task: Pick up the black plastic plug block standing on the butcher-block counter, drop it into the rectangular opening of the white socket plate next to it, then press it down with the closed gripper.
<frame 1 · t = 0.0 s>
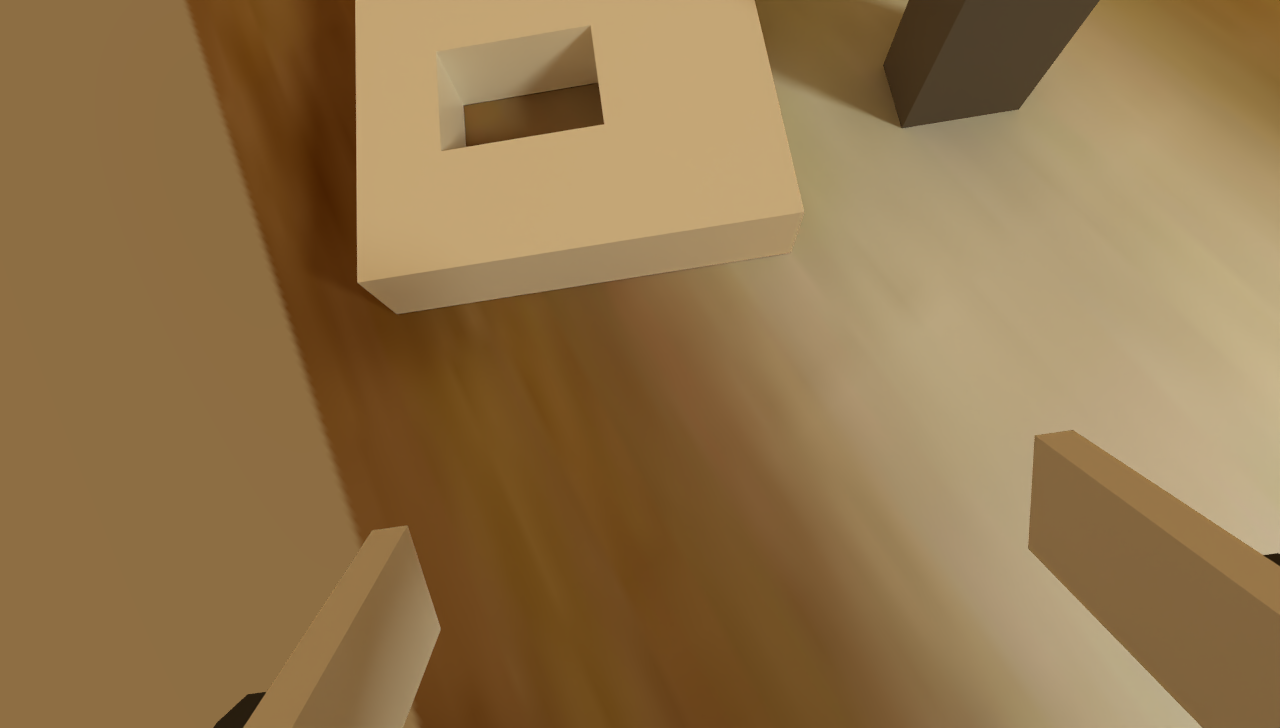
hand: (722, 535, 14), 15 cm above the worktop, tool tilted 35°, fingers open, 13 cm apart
socket plate: (572, 131, 35), on the worktop
plug: (949, 86, 34), on the worktop
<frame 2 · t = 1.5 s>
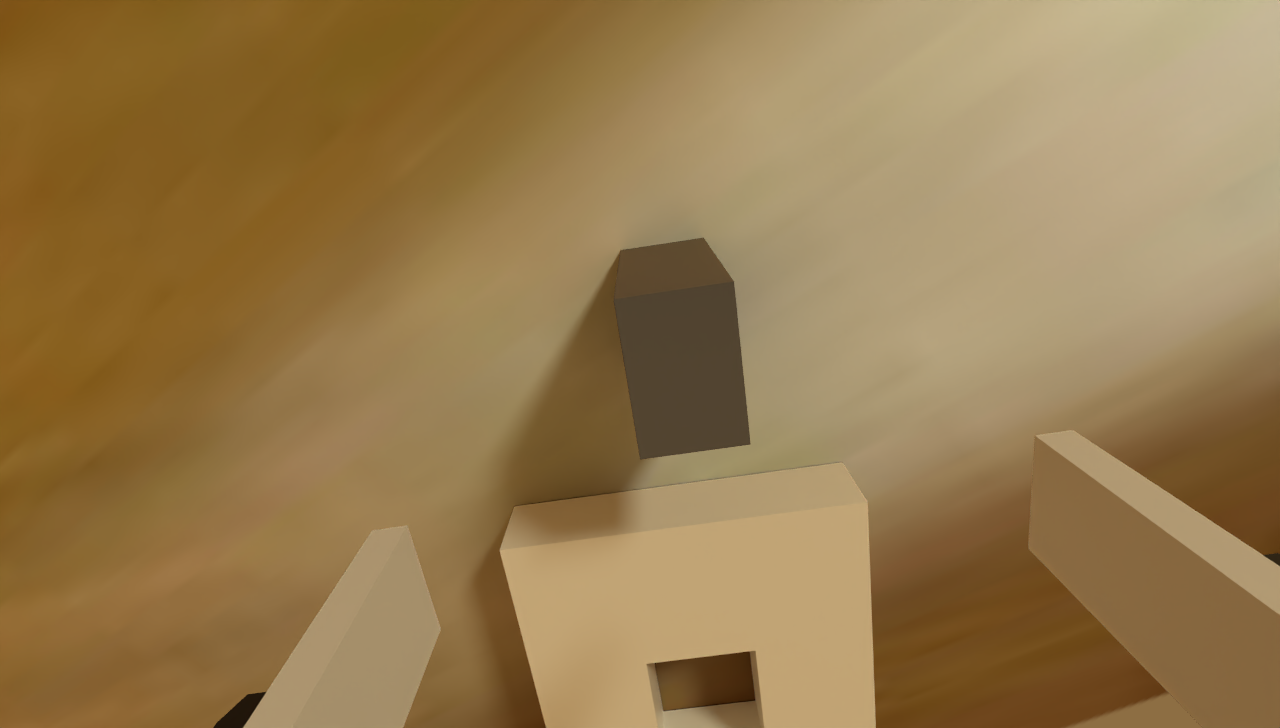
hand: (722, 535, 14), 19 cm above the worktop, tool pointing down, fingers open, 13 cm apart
socket plate: (698, 630, 38), on the worktop
plug: (670, 304, 32), on the worktop
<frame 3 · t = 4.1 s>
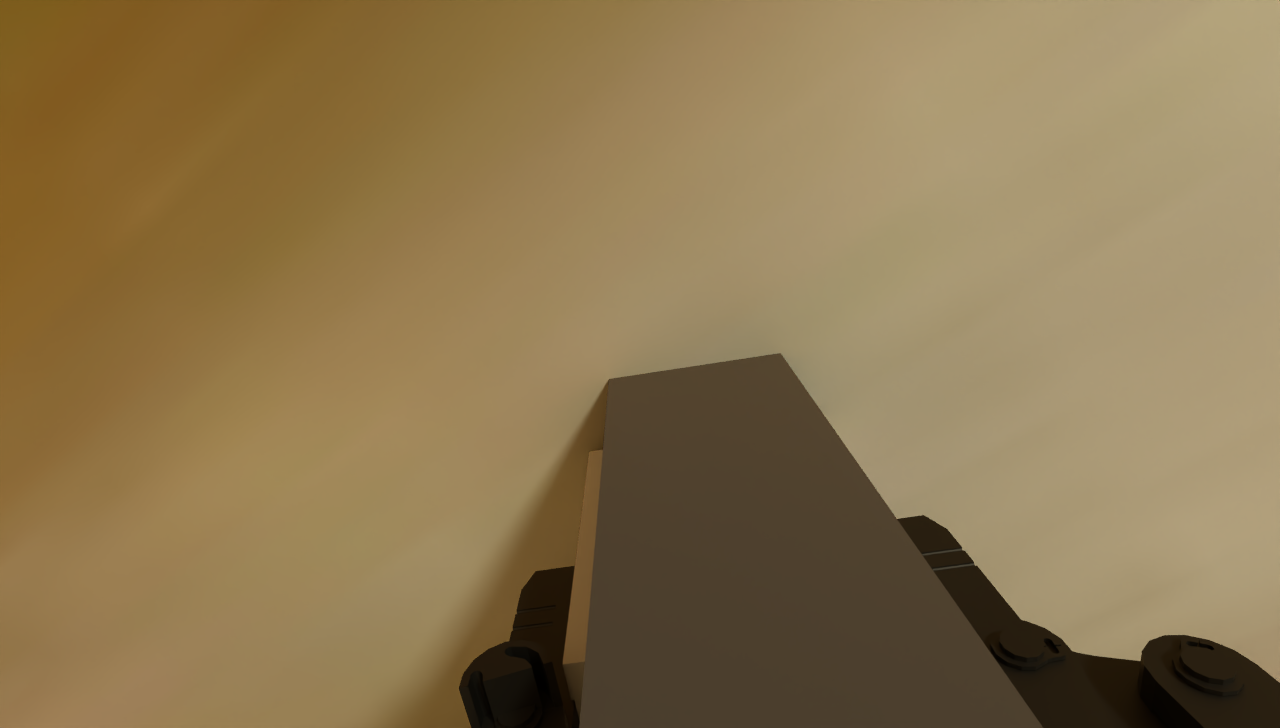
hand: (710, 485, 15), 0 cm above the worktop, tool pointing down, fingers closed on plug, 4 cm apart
plug: (709, 479, 16), on the worktop, touching gripper
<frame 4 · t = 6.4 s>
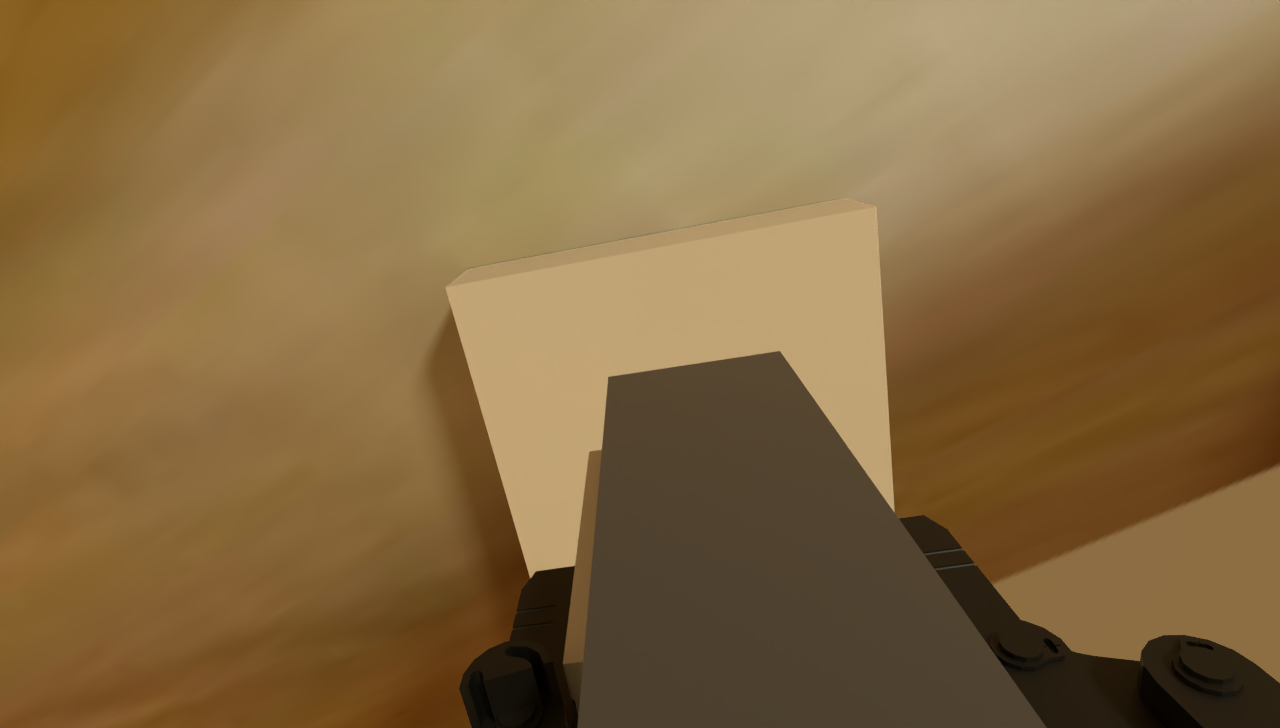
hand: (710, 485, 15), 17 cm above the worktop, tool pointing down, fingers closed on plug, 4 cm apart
socket plate: (687, 424, 33), on the worktop
plug: (708, 477, 16), point 16 cm above the worktop, touching gripper
when the fingers open (5 cm above the worktop, at t = 8.7 s): plug drops 5 cm, resting in socket plate.
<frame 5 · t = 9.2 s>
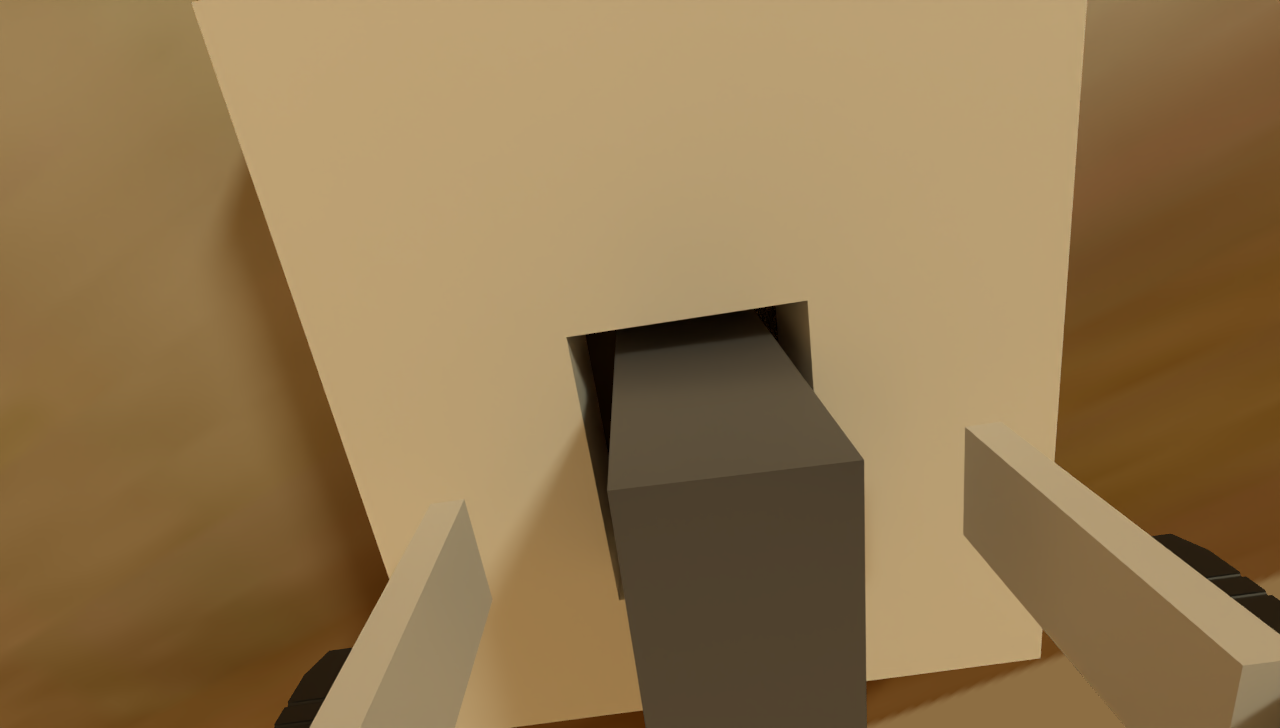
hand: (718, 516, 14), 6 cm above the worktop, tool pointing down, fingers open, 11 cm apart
socket plate: (683, 343, 20), on the worktop
plug: (692, 402, 20), resting in socket plate
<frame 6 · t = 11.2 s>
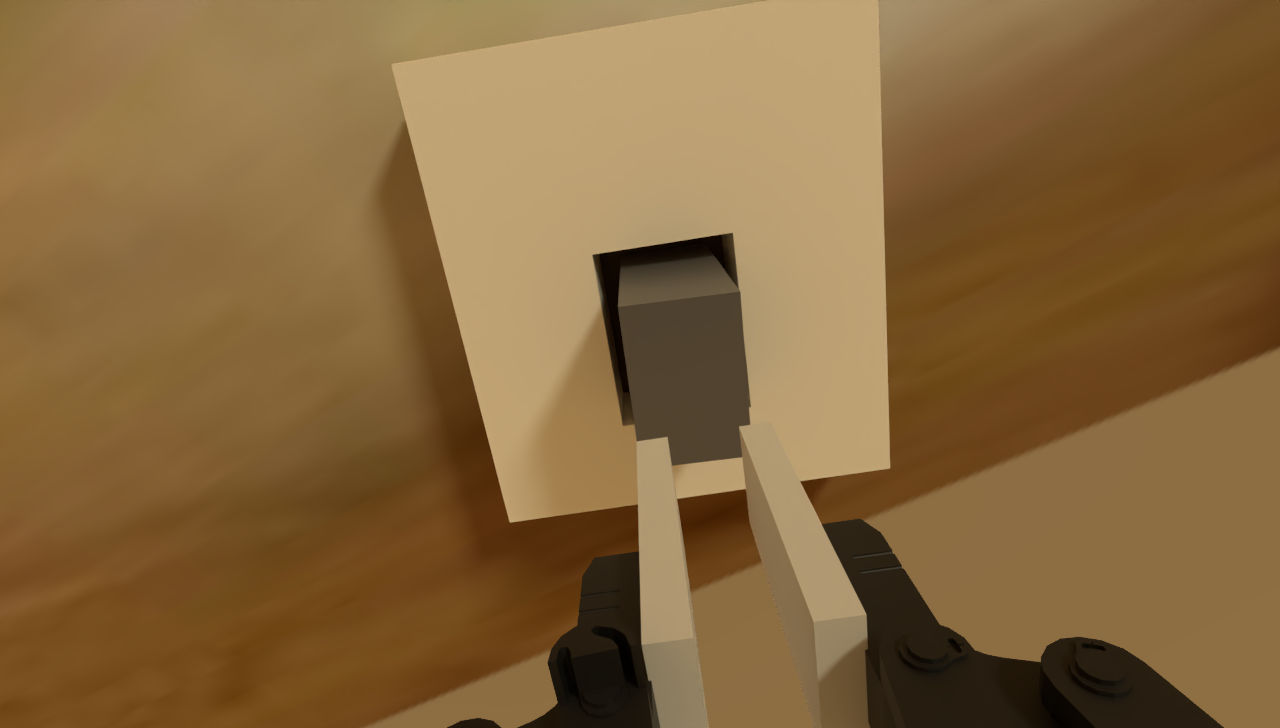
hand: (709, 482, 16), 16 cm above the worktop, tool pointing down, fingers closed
socket plate: (663, 270, 30), on the worktop
plug: (670, 310, 31), resting in socket plate
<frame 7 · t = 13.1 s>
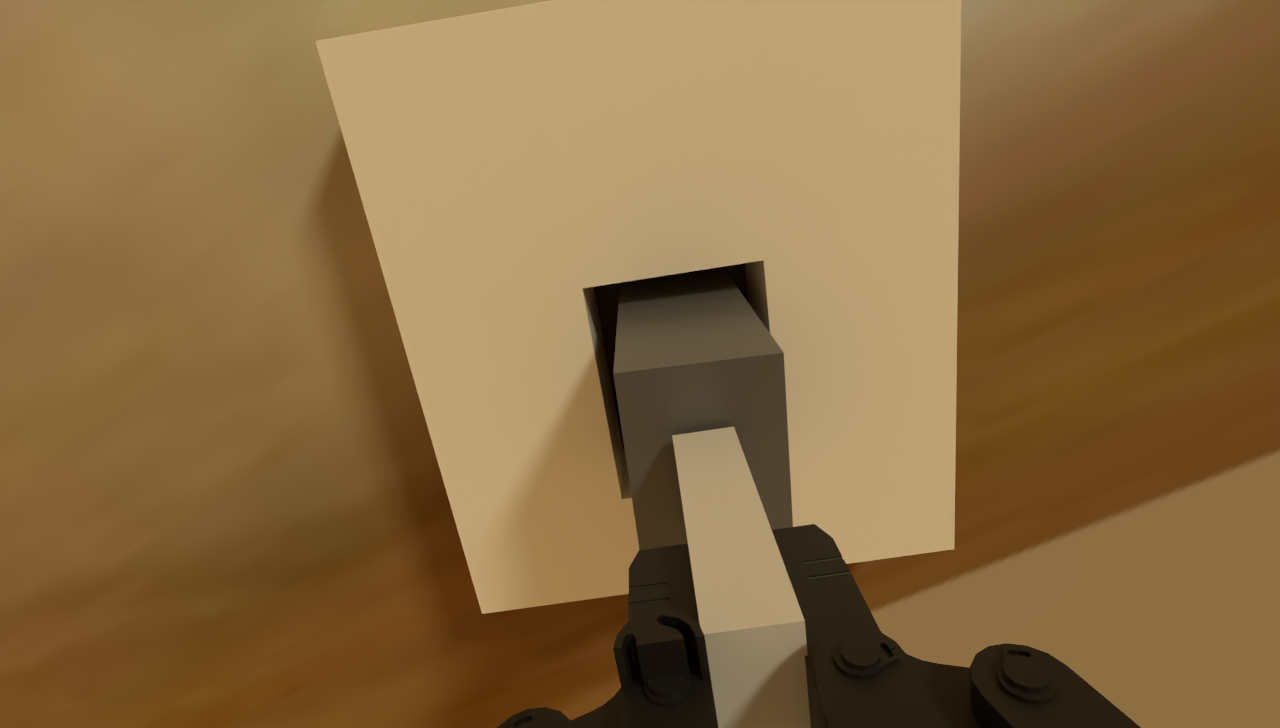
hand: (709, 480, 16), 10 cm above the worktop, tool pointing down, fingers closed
socket plate: (672, 301, 25), on the worktop
plug: (680, 350, 25), resting in socket plate, touching gripper
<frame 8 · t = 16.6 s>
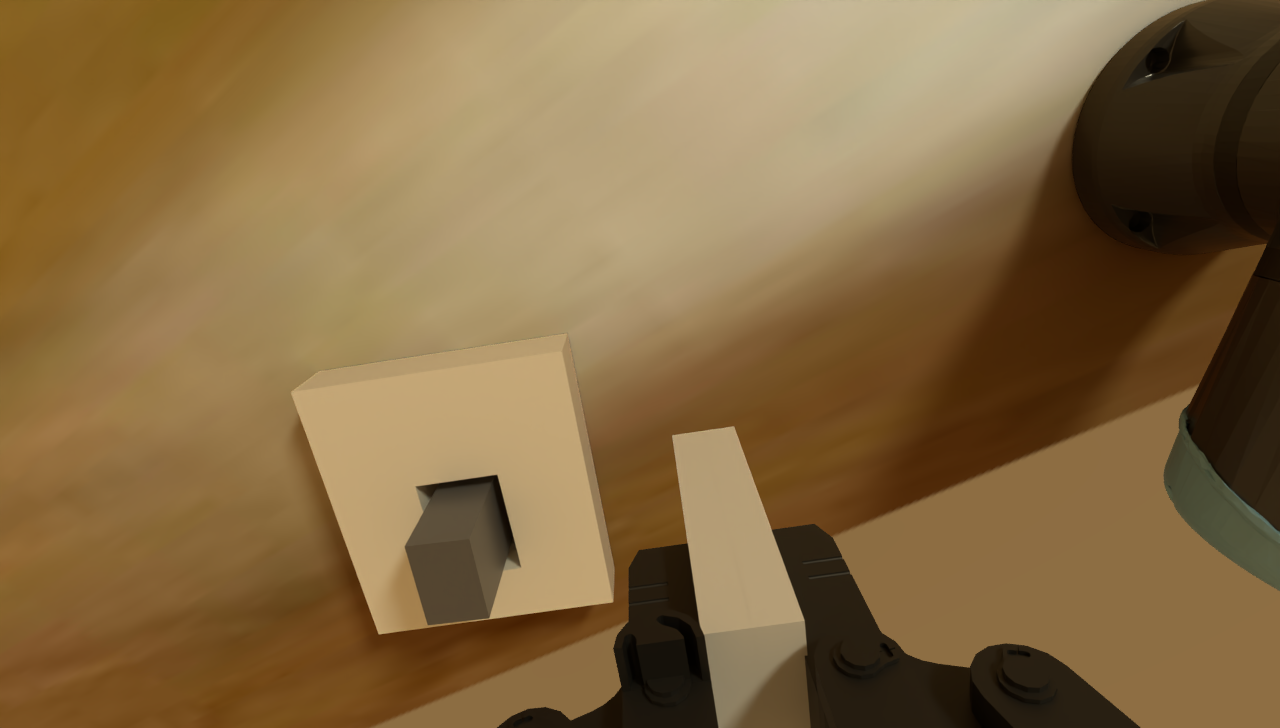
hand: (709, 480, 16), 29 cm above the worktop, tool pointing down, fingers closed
socket plate: (475, 475, 49), on the worktop
plug: (482, 498, 49), resting in socket plate
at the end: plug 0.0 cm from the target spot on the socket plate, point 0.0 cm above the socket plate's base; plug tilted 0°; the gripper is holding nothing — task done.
